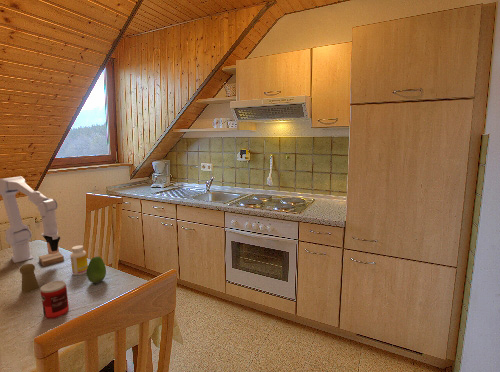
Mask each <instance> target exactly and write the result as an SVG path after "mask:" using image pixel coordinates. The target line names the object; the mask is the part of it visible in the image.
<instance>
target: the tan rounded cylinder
mask: <svg viewBox="0 0 500 372" xmlns="http://www.w3.org/2000/svg"><path fill="white" fill-rule="evenodd" d="M46 247H47V248H46V249H47V254H55V253H58V252H60V248H59V246H58V249H57V251H53V252H52V250H51V247H50V244H49V242H46Z"/></svg>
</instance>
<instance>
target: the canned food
mask: <svg viewBox="0 0 500 372" xmlns="http://www.w3.org/2000/svg"><path fill="white" fill-rule="evenodd" d="M39 289H40V290H39V291H40V297H41V304H42V310H43V315H44V317H45V318H46V319H58V318H60V317H61V316H64V315H66V313H68V312H69V308H70V306H69V300H68V291H67V283H66V281H64V280H53V281H50V282H47V283H44V285H43V284H42V286H41V287H39Z"/></svg>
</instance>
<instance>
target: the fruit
mask: <svg viewBox="0 0 500 372" xmlns="http://www.w3.org/2000/svg"><path fill="white" fill-rule="evenodd" d="M106 269H107V268H106V264H105V262H104V260H103V258H102V257H101V256H94V257H92V258H91V259H90V261H88V267H87V271H86V273H85V274H86V277H87V281H89V282H90V283H91V284H99V283H101V282H102V281H103V280H105V277H106V275H107V270H106Z"/></svg>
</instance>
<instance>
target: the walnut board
mask: <svg viewBox="0 0 500 372" xmlns="http://www.w3.org/2000/svg"><path fill="white" fill-rule="evenodd" d="M38 261H39V262H40V264H41V265H42V266H43V267H46V266H50V265H53V264H56V263H60V262H64V261H65V258H64V255H63V254H62V253H61V252H60V251H59V252H58V253H55V254H48V253H47V254H43V255H40V256H38Z"/></svg>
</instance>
